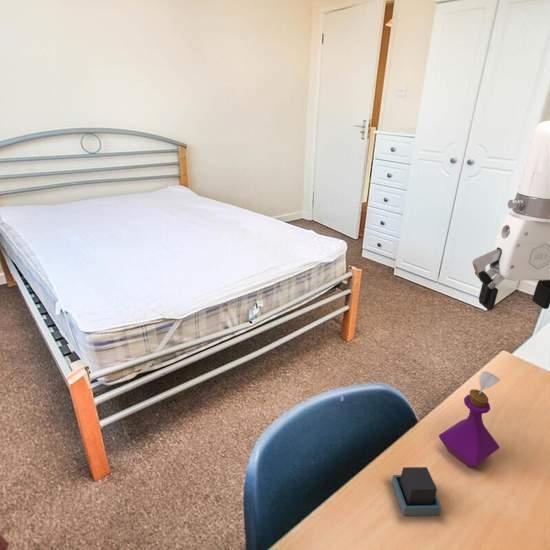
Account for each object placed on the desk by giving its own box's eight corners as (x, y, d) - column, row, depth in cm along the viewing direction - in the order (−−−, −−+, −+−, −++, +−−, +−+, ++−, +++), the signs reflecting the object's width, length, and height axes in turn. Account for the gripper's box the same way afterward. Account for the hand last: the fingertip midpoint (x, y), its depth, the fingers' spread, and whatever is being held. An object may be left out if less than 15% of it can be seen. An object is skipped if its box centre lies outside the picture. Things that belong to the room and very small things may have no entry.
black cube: (422, 483, 64) (426, 466, 63) (432, 506, 61) (437, 489, 59) (398, 484, 64) (402, 467, 62) (407, 507, 60) (411, 489, 59)
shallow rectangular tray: (424, 481, 65) (426, 474, 64) (439, 515, 60) (441, 507, 59) (391, 482, 65) (393, 474, 64) (403, 515, 60) (405, 508, 59)
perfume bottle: (471, 479, 66) (499, 398, 59) (434, 448, 72) (455, 371, 64) (495, 460, 70) (524, 381, 62) (458, 432, 75) (481, 357, 68)
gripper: (502, 213, 54) (475, 318, 61) (616, 213, 55) (577, 315, 62) (474, 201, 61) (453, 296, 68) (576, 201, 62) (545, 294, 69)
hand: (512, 305), depth 65 cm, fingers open, 9 cm apart
